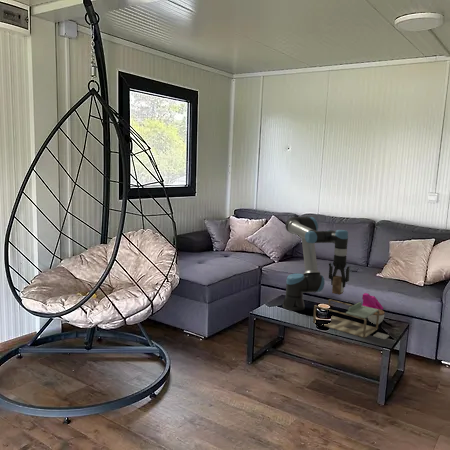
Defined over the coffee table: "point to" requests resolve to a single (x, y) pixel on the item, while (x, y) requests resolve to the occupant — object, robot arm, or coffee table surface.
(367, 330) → the open box frame
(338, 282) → the block
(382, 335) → the tile
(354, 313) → the cover
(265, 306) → the coffee table surface
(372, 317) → the lidded jar
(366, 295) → the bracket
